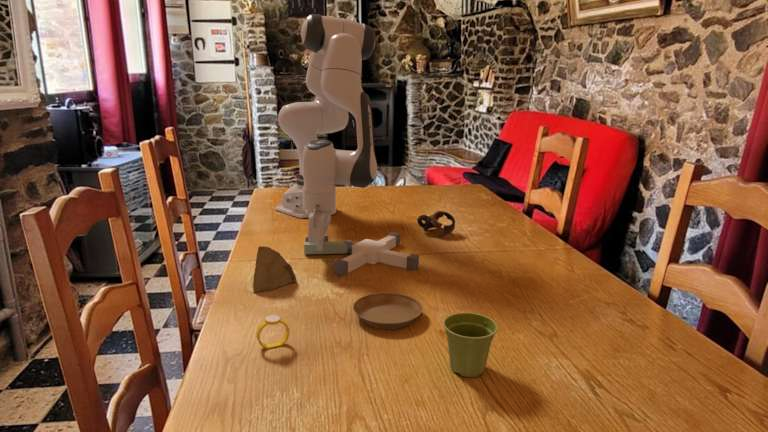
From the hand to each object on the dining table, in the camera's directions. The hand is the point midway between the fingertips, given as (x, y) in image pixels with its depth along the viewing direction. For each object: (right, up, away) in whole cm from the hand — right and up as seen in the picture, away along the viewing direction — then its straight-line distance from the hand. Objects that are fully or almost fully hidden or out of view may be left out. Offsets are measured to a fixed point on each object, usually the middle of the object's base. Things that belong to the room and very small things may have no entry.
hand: (320, 249), depth 144 cm
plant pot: (+33, -18, -51) cm, 63 cm away
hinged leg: (+2, -1, +3) cm, 4 cm away
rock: (-9, -8, -19) cm, 22 cm away
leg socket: (-2, +1, +9) cm, 10 cm away
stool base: (+18, -3, -2) cm, 18 cm away
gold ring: (-3, -16, -45) cm, 48 cm away
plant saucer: (+18, -13, -33) cm, 40 cm away
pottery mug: (+34, +3, +22) cm, 41 cm away
